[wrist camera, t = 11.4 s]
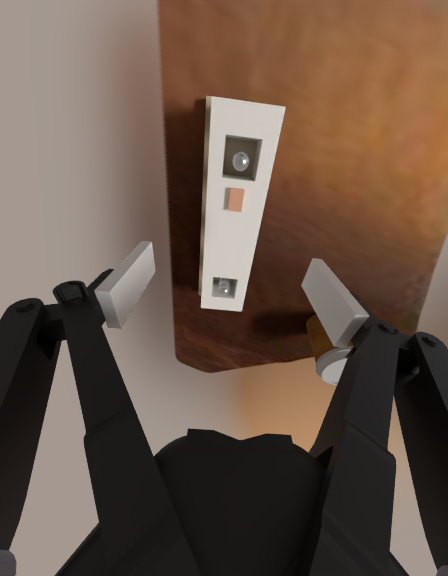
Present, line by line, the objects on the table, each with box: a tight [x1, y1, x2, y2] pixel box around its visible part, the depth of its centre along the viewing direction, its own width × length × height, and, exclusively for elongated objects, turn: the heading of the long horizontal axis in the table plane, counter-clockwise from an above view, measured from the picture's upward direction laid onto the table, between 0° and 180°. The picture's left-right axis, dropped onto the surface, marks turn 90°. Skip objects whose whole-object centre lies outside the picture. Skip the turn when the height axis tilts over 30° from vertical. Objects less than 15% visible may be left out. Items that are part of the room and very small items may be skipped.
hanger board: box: [198, 96, 257, 295], centre depth 30 cm, size 28×9×2 cm, turn 174°
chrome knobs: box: [218, 151, 249, 295], centre depth 27 cm, size 19×2×7 cm, turn 174°
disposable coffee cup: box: [306, 314, 354, 385], centre depth 38 cm, size 10×10×12 cm
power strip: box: [201, 96, 286, 311], centre depth 27 cm, size 26×7×6 cm, turn 174°
